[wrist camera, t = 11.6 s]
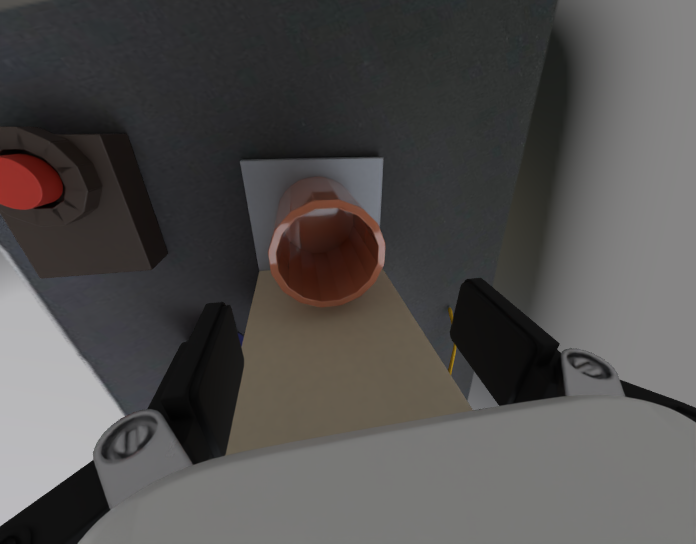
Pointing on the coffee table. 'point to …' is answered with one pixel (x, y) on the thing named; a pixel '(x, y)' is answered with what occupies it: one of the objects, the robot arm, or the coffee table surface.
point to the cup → (324, 244)
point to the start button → (27, 182)
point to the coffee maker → (329, 335)
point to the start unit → (85, 206)
